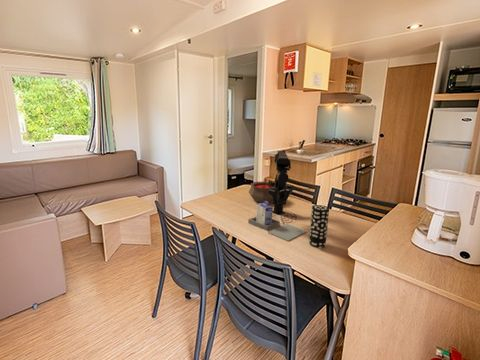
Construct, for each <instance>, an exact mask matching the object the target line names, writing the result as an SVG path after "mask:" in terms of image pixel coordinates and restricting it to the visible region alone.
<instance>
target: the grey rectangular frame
mask: <svg viewBox="0 0 480 360" xmlns="http://www.w3.org/2000/svg"><path fill="white" fill-rule="evenodd" d="M247 223H248V224H249V225H251V226H254V227H256V228H259V229H261V230H264V231H271V230H273V229H274V228H278V226H279V227H280V225H281V221H280V220H276V219H275V218H274V219H273V218H272V224H270V225H267V226H266V225H264V224H261V223H259V222H256V216H254V217H252V218H248V222H247Z"/></svg>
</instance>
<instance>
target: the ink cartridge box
mask: <svg viewBox="0 0 480 360" xmlns="http://www.w3.org/2000/svg"><path fill="white" fill-rule="evenodd" d="M265 202H267V201H265ZM265 202H264V203H257V205H256V215H255V217H256V222H259V223H261V224H264V225H266V226H267V225H270V224H272V219H273V212H272V211H273V210H274V206H272V205H269V204H270V203H269V202H267V203H265Z"/></svg>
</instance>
